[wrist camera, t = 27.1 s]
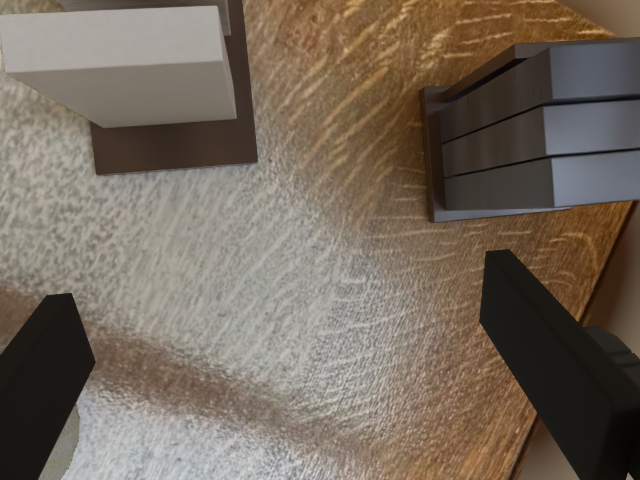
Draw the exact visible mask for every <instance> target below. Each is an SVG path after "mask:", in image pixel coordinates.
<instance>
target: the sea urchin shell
mask: <svg viewBox="0 0 640 480" xmlns="http://www.w3.org/2000/svg"><path fill="white" fill-rule="evenodd" d="M76 406H77V405H76V404H75V406H74V408H73V410H72V412H71V414H70V416H69V418H68V420H67V422H66V424H65V426H64V428H63V430H62V432H61V434H60V436H59V438H58V440H57V442H56V444H55V446H54V448H53V450H52V452H51V454H50V457H49V459H48V461H47V463H46V465H45V467H44V469H43V471H42V473H41V475H40V477H39V479H38V480H60V479H61V478H62V476H63V475H64V474H65V472H66V470H68V469H69V466H70V463H71V461H72V457H73V453H74V451H75V448H76V447H77V444H78V438H79V436H78V433H79V419H80V416H79V415H78V411H77V408H76Z"/></svg>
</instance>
